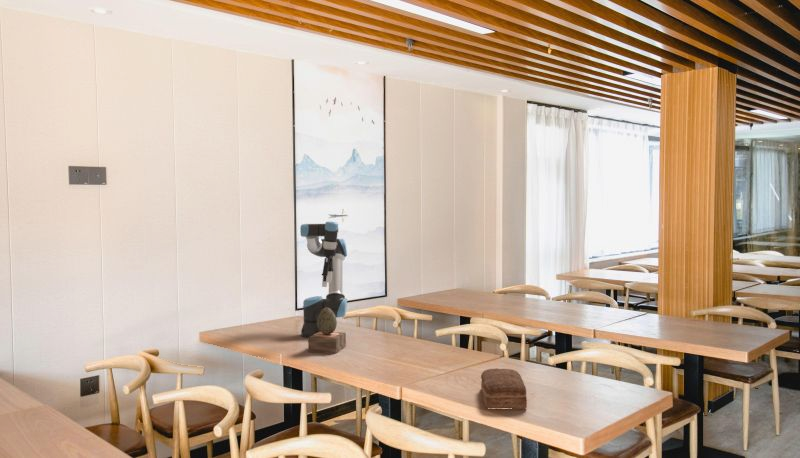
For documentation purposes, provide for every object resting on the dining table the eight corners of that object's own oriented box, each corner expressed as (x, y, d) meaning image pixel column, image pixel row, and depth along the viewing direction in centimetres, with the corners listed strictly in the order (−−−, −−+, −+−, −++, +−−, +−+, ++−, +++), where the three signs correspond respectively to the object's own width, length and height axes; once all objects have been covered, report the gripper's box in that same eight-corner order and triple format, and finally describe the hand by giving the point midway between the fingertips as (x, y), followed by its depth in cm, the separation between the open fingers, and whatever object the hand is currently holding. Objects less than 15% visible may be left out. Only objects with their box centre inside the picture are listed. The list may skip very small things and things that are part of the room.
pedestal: (319, 345, 364) (318, 330, 364) (345, 346, 360) (345, 332, 360) (308, 352, 349) (308, 337, 348) (336, 353, 345) (335, 338, 344)
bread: (519, 388, 277) (519, 362, 277) (528, 411, 248) (528, 382, 247) (480, 388, 278) (479, 362, 278) (484, 411, 249) (484, 382, 248)
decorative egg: (313, 334, 354) (313, 307, 354) (329, 331, 362) (328, 305, 361) (325, 337, 346) (324, 309, 346) (340, 334, 354) (340, 307, 353)
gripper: (332, 252, 356) (329, 289, 358) (339, 246, 380) (336, 281, 383) (319, 250, 356) (315, 287, 358) (327, 245, 381) (324, 279, 383)
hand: (326, 284), depth 371 cm, fingers open, 13 cm apart
